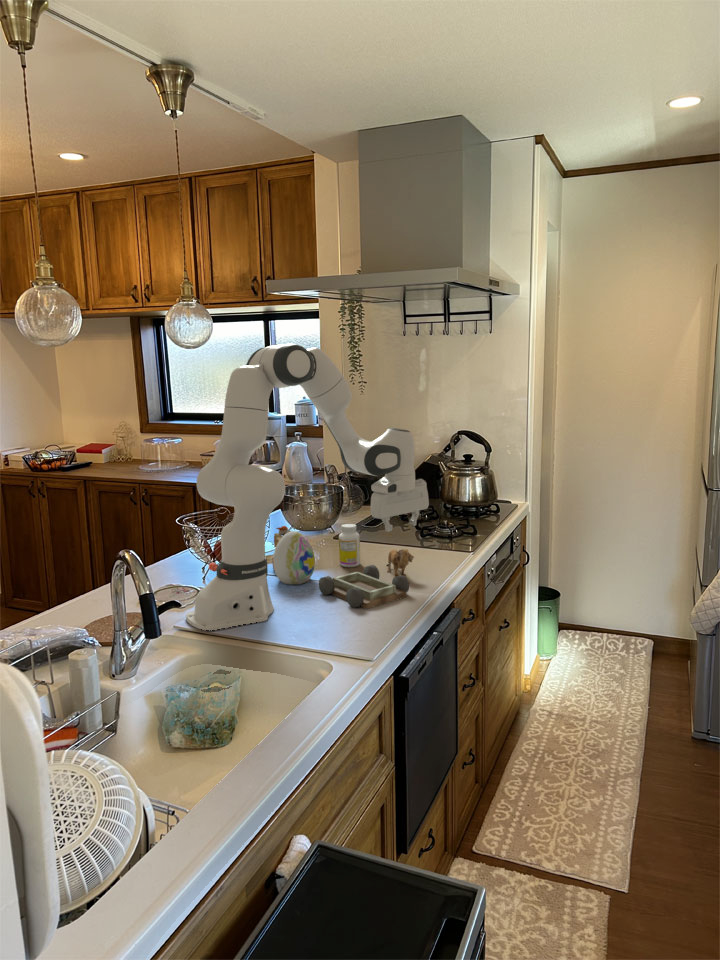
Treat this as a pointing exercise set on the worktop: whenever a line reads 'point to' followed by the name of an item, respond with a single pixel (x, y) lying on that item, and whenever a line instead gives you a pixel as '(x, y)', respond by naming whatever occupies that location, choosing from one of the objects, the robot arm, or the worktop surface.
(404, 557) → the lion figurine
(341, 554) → the supplement bottle
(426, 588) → the worktop surface
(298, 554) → the decorative egg
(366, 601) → the toy car chassis
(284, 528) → the toy helicopter
